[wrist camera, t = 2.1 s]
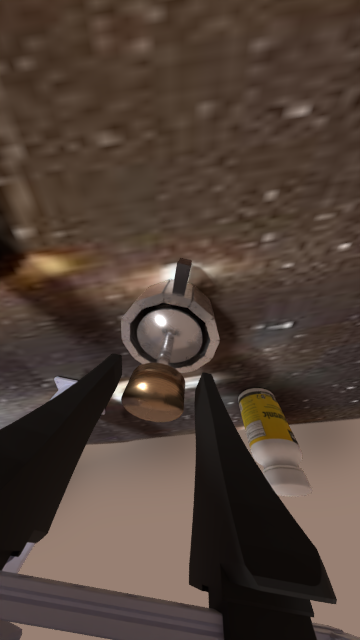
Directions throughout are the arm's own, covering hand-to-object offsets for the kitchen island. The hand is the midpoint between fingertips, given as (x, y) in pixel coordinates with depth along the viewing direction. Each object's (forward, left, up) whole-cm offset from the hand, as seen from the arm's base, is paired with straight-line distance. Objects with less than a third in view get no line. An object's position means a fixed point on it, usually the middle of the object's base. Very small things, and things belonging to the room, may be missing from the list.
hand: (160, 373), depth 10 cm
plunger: (0, 0, -4) cm, 4 cm away
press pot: (+1, 0, -8) cm, 8 cm away
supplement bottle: (-11, -15, -8) cm, 20 cm away
